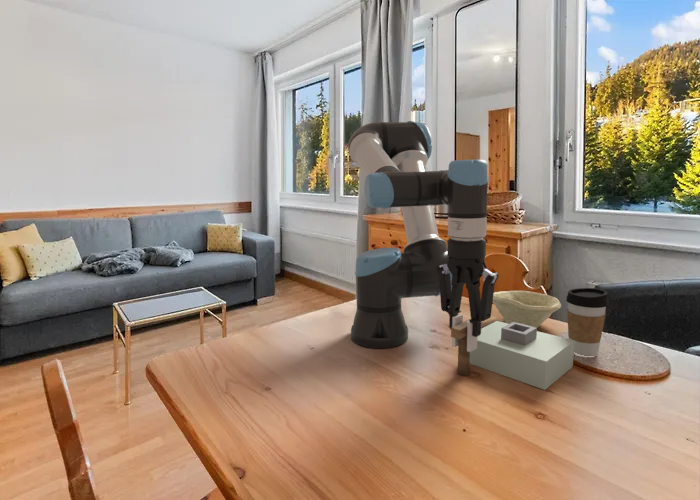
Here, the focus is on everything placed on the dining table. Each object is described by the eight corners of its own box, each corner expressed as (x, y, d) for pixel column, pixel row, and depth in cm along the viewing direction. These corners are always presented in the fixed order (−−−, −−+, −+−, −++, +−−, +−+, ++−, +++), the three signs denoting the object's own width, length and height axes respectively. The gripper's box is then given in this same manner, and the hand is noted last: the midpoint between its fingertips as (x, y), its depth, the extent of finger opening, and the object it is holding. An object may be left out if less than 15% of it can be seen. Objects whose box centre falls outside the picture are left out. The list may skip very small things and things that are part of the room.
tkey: (467, 365, 93) (469, 318, 90) (477, 369, 91) (479, 321, 89) (449, 376, 88) (450, 327, 86) (458, 380, 86) (460, 330, 84)
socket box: (464, 361, 95) (465, 326, 93) (496, 343, 104) (497, 311, 103) (544, 390, 82) (547, 349, 80) (572, 366, 91) (575, 329, 89)
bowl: (493, 340, 117) (484, 297, 126) (561, 337, 114) (547, 292, 123) (498, 314, 106) (487, 269, 116) (573, 310, 104) (556, 264, 113)
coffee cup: (610, 361, 93) (615, 296, 90) (569, 359, 94) (573, 295, 92) (596, 346, 101) (601, 286, 98) (558, 344, 102) (562, 285, 100)
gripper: (423, 236, 87) (423, 341, 92) (493, 244, 76) (489, 364, 80) (444, 232, 92) (443, 332, 97) (513, 239, 81) (508, 352, 85)
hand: (464, 346), depth 88 cm, fingers open, 3 cm apart
